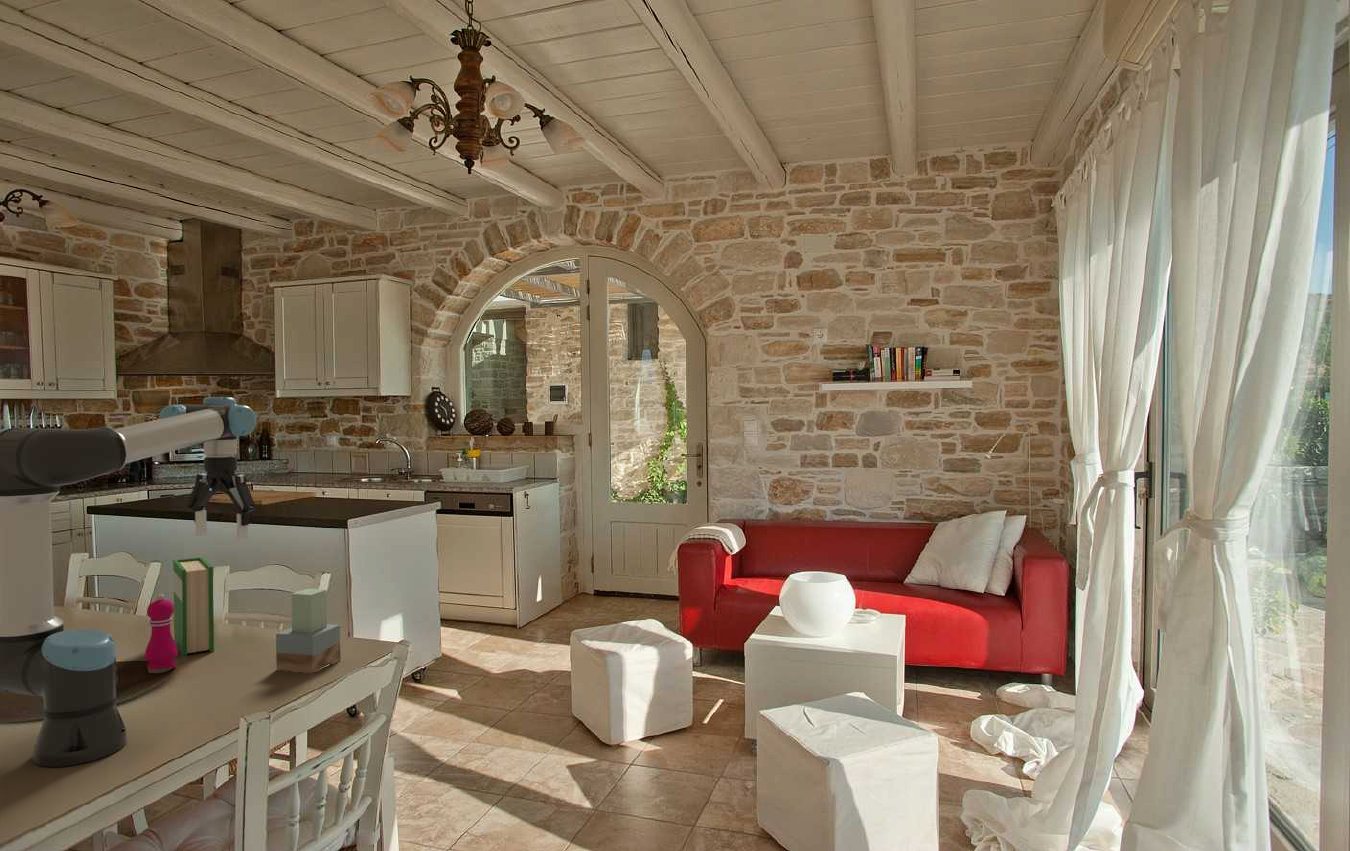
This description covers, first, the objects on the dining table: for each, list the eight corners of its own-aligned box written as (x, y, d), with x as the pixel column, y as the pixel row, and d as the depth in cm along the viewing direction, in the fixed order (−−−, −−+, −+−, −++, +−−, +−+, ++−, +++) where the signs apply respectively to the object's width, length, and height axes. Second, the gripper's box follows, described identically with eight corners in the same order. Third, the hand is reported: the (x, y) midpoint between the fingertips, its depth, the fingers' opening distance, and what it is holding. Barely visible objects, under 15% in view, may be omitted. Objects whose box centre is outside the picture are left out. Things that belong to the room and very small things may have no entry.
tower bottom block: (311, 675, 206) (311, 656, 206) (276, 671, 209) (276, 652, 209) (340, 662, 216) (340, 643, 216) (306, 658, 219) (306, 640, 219)
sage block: (311, 632, 209) (310, 595, 209) (292, 631, 211) (291, 593, 210) (326, 626, 215) (326, 589, 215) (308, 625, 216) (307, 588, 216)
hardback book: (213, 651, 224) (212, 566, 223) (183, 657, 219) (181, 570, 218) (203, 637, 237) (202, 557, 237) (174, 641, 233) (173, 560, 232)
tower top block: (312, 655, 206) (312, 636, 206) (276, 652, 209) (276, 633, 208) (339, 643, 217) (339, 625, 217) (304, 640, 219) (304, 622, 219)
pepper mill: (161, 675, 204) (160, 598, 204) (137, 673, 206) (136, 596, 205) (184, 666, 211) (183, 591, 211) (161, 664, 213) (160, 590, 212)
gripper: (270, 456, 209) (271, 536, 209) (195, 454, 216) (196, 532, 216) (247, 458, 201) (248, 541, 202) (170, 455, 208) (171, 536, 209)
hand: (221, 536), depth 209 cm, fingers open, 13 cm apart
